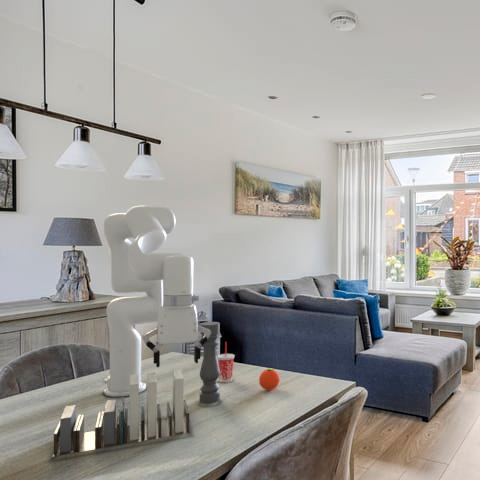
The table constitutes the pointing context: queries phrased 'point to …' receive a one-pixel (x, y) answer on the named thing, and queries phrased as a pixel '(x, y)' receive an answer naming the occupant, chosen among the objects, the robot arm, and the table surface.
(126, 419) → the book rack
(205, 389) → the candle holder
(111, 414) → the grey book
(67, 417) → the grey book
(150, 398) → the white book
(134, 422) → the white book
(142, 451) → the table surface
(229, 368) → the beverage cup
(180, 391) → the white book
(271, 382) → the clementine
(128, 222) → the robot arm
